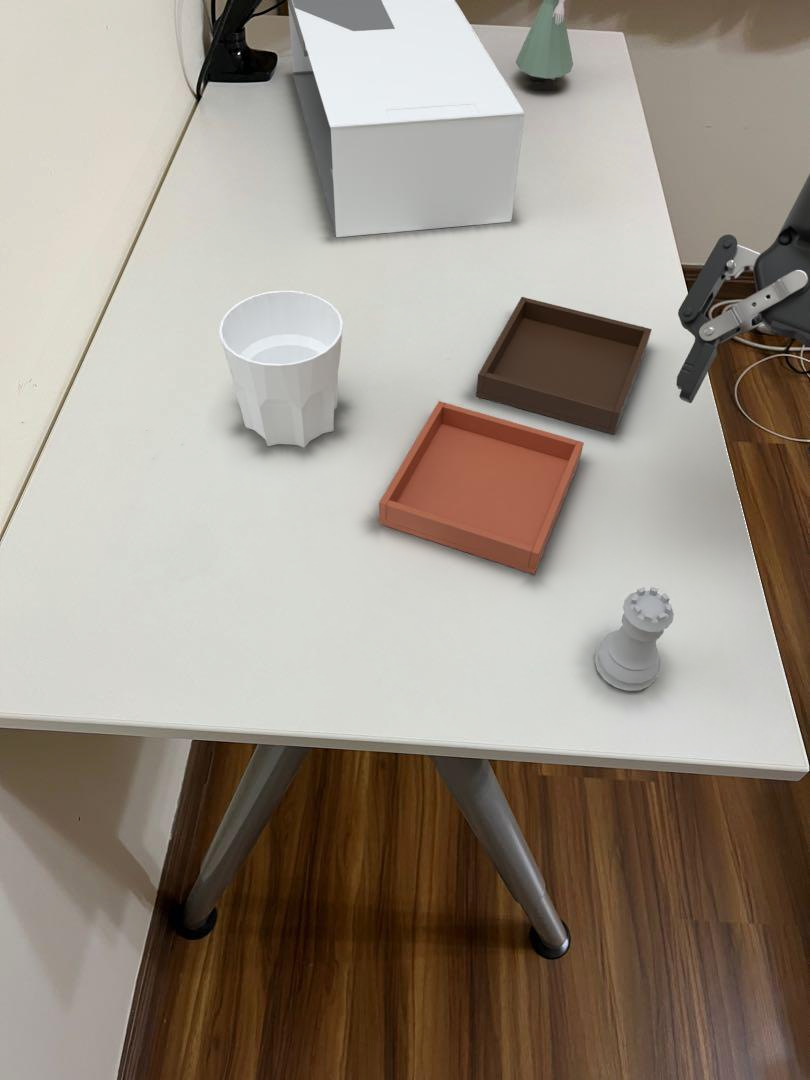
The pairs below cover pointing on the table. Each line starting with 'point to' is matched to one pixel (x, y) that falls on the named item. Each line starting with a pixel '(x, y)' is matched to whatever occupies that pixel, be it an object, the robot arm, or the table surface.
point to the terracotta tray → (482, 486)
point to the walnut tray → (564, 364)
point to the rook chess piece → (635, 641)
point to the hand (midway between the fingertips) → (746, 426)
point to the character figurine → (547, 46)
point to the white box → (404, 115)
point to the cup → (284, 364)
